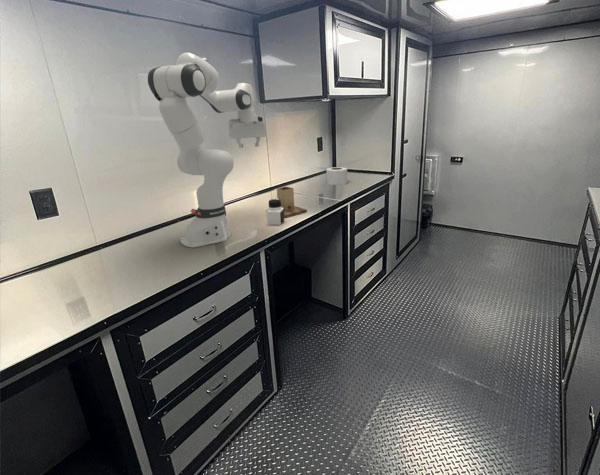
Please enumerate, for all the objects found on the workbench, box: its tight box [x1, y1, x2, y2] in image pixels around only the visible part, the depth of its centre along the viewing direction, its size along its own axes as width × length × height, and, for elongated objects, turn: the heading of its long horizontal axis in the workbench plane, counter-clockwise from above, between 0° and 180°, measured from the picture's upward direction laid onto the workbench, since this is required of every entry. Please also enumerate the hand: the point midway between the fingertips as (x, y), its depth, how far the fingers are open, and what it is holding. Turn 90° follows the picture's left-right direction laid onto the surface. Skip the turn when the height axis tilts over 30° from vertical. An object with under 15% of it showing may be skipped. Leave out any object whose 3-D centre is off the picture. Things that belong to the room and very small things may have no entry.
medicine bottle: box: [266, 198, 286, 226], centre depth 171 cm, size 7×7×12 cm
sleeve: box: [276, 186, 295, 212], centre depth 187 cm, size 6×8×12 cm
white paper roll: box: [325, 166, 348, 186], centre depth 256 cm, size 16×15×11 cm
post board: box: [265, 205, 308, 219], centre depth 188 cm, size 16×16×10 cm
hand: (249, 147), depth 176 cm, fingers open, 8 cm apart
